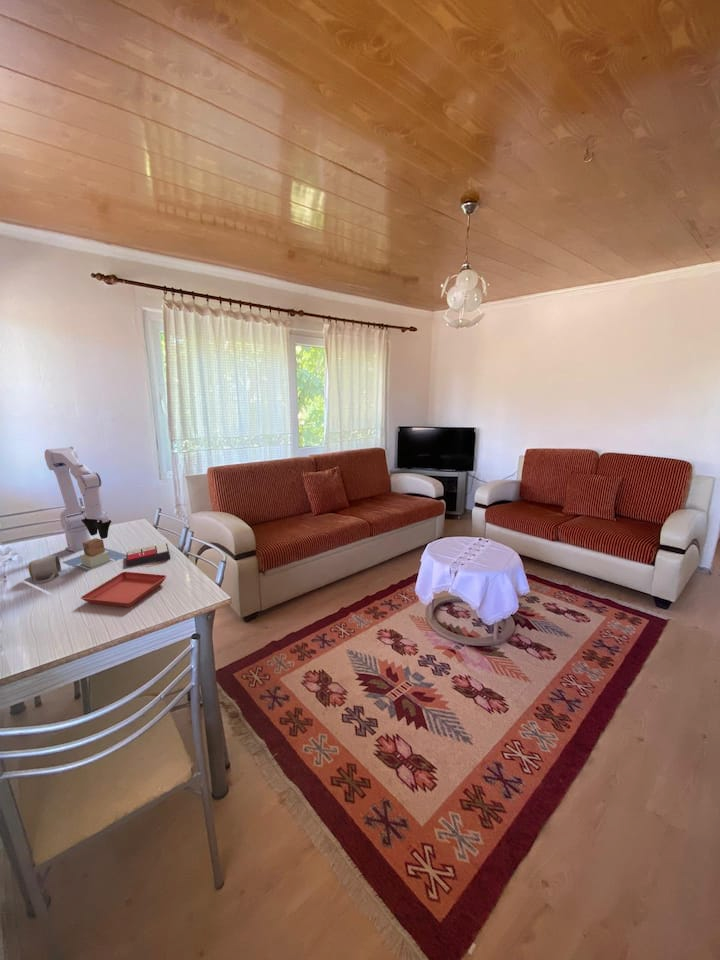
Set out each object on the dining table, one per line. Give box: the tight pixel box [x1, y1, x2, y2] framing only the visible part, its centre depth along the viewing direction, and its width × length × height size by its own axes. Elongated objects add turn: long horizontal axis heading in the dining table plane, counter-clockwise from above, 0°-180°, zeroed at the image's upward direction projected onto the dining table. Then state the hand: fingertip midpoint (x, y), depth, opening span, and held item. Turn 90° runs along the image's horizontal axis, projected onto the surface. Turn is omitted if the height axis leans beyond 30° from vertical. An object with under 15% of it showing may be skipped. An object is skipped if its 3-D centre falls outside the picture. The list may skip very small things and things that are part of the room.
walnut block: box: [82, 537, 105, 557], centre depth 150 cm, size 5×5×5 cm
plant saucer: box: [80, 571, 167, 608], centre depth 129 cm, size 18×18×3 cm
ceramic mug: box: [28, 554, 62, 585], centre depth 140 cm, size 11×8×8 cm
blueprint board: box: [62, 547, 127, 572], centre depth 155 cm, size 18×16×1 cm
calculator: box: [125, 542, 171, 567], centre depth 156 cm, size 11×4×15 cm
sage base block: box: [79, 551, 110, 568], centre depth 151 cm, size 7×7×4 cm
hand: (99, 536), depth 154 cm, fingers open, 7 cm apart
